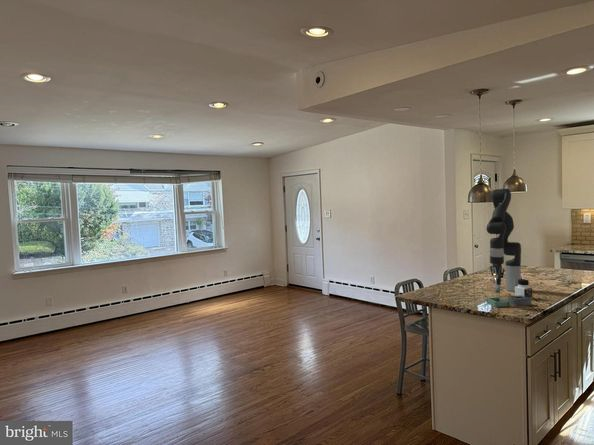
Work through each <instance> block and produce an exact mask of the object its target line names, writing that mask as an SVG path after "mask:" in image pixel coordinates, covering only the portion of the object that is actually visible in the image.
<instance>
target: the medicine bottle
mask: <svg viewBox="0 0 594 445" xmlns="http://www.w3.org/2000/svg"><path fill="white" fill-rule="evenodd" d="M529 285H530V282H529V280H528V279H527V278H521V279H519V280H518V286H516V287H515V291H514V296H521V295H523V296H525V297H528V298H530V299H531V300H532V299H533V287H531V286H529Z"/></svg>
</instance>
